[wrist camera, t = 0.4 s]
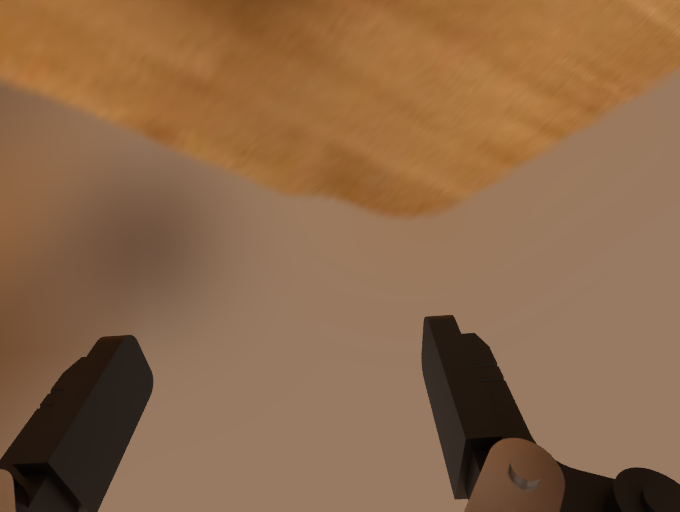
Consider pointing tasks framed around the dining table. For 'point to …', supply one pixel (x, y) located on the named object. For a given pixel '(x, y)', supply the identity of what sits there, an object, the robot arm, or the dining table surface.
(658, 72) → the dining table surface
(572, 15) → the dining table surface
